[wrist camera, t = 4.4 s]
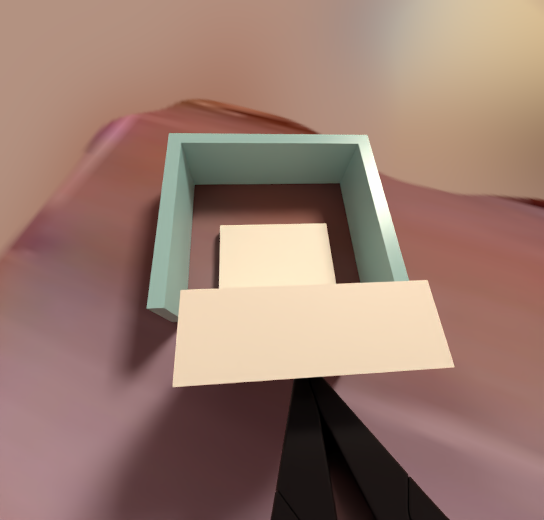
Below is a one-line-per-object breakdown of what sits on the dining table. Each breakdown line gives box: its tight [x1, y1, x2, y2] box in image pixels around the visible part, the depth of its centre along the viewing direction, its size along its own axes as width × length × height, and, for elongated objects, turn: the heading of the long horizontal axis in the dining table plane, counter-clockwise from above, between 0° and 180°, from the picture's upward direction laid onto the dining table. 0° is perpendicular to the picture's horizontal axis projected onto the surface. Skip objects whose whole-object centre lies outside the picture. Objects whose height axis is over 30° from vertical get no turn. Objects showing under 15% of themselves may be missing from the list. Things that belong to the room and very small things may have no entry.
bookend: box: [173, 223, 454, 387], centre depth 13 cm, size 10×8×9 cm
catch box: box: [147, 133, 409, 322], centre depth 16 cm, size 11×13×4 cm
